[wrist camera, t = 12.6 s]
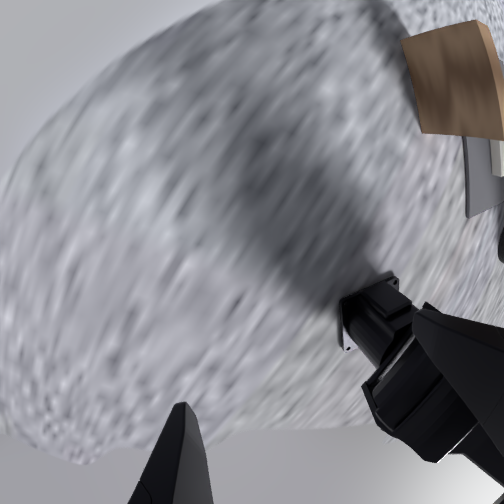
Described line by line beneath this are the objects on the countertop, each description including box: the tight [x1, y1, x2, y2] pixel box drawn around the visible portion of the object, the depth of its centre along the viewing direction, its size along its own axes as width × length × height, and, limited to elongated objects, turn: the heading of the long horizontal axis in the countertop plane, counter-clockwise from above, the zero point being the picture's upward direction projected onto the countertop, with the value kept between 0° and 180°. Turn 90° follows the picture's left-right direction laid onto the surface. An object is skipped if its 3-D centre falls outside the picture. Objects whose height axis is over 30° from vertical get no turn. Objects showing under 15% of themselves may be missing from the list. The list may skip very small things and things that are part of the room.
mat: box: [463, 60, 504, 218], centre depth 21 cm, size 20×16×1 cm
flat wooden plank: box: [400, 20, 504, 141], centre depth 14 cm, size 9×2×9 cm, turn 13°
